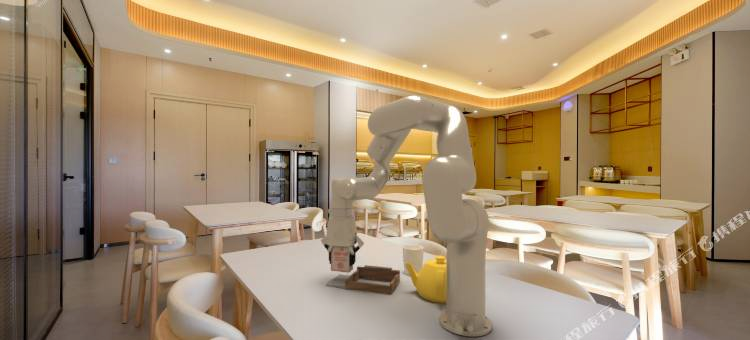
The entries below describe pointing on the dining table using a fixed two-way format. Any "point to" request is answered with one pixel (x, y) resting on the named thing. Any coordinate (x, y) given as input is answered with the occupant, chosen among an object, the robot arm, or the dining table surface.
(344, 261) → the tea bag
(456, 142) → the robot arm
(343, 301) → the dining table surface
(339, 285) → the rubber pad
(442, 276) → the teapot
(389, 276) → the brown wooden tray
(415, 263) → the white cup
